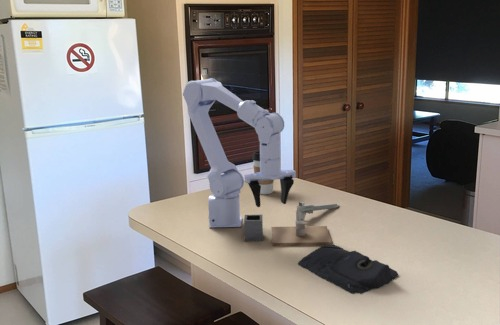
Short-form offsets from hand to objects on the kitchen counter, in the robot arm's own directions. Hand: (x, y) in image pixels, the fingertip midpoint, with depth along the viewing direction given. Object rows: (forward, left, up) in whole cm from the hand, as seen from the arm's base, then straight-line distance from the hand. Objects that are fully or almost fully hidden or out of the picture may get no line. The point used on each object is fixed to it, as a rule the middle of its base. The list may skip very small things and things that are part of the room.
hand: (270, 204), depth 148 cm
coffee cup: (-2, +40, -9) cm, 41 cm away
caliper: (+15, +16, -9) cm, 24 cm away
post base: (+8, -3, -9) cm, 13 cm away
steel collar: (-5, -3, -9) cm, 11 cm away
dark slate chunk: (+18, -24, -10) cm, 31 cm away
